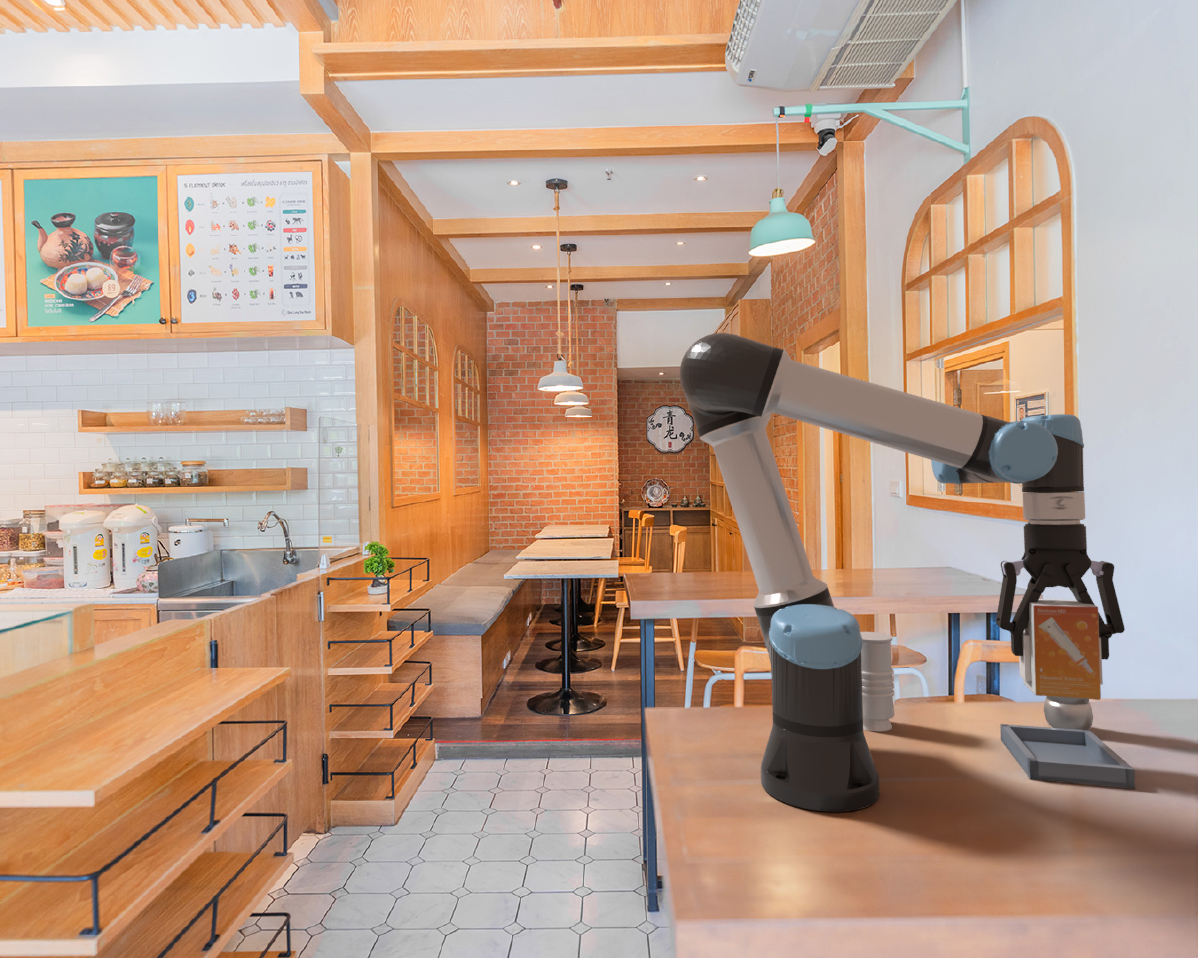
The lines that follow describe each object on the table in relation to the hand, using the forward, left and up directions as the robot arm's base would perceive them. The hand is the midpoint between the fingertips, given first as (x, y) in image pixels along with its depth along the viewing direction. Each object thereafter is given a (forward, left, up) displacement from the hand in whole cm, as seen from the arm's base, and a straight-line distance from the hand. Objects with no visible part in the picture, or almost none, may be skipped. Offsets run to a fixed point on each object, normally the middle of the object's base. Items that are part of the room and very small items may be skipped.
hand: (1060, 679), depth 98 cm
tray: (0, 0, -12) cm, 12 cm away
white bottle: (-25, +10, -12) cm, 29 cm away
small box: (0, 0, -2) cm, 2 cm away
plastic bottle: (+5, +15, -12) cm, 20 cm away
